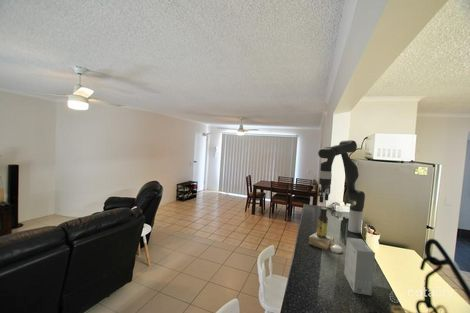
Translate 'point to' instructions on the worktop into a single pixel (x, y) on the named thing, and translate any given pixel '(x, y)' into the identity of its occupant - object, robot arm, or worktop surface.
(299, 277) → the worktop surface
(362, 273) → the hard drive box
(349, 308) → the worktop surface
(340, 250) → the white round dome
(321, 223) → the sauce bottle
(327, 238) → the plinth
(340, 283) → the worktop surface
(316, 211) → the worktop surface
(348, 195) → the robot arm
